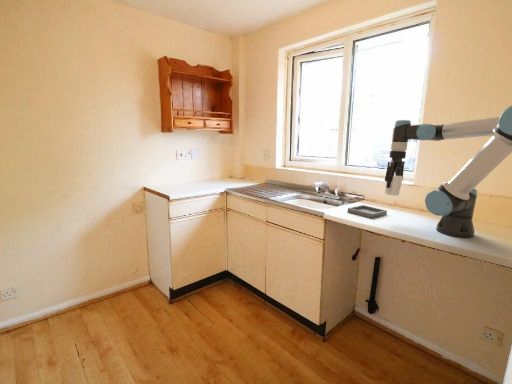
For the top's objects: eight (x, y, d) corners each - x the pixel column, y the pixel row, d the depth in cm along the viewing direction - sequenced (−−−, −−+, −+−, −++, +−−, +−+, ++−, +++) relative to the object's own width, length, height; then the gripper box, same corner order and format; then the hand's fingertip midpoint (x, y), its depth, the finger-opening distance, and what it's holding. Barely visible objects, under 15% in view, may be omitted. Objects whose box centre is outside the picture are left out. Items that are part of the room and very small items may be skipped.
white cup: (401, 196, 145) (404, 177, 143) (385, 195, 147) (388, 176, 145) (397, 193, 153) (400, 175, 151) (382, 192, 155) (384, 174, 152)
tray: (386, 214, 166) (387, 210, 165) (371, 218, 156) (372, 214, 156) (362, 208, 178) (362, 204, 178) (347, 212, 169) (347, 208, 168)
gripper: (400, 149, 154) (394, 190, 159) (381, 150, 142) (375, 193, 147) (414, 150, 148) (407, 192, 153) (395, 151, 136) (389, 196, 141)
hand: (391, 193), depth 150 cm, fingers closed on white cup, 7 cm apart
